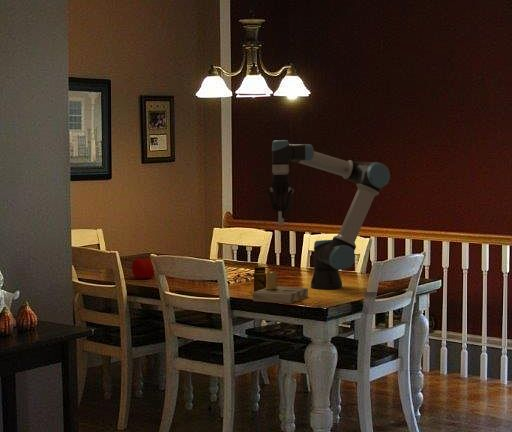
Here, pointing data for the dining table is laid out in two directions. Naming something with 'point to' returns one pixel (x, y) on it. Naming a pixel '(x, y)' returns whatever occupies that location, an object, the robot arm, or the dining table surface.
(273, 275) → the bushing
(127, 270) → the dining table surface
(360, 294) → the dining table surface
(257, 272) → the condiment
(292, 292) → the jig
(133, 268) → the tomato
